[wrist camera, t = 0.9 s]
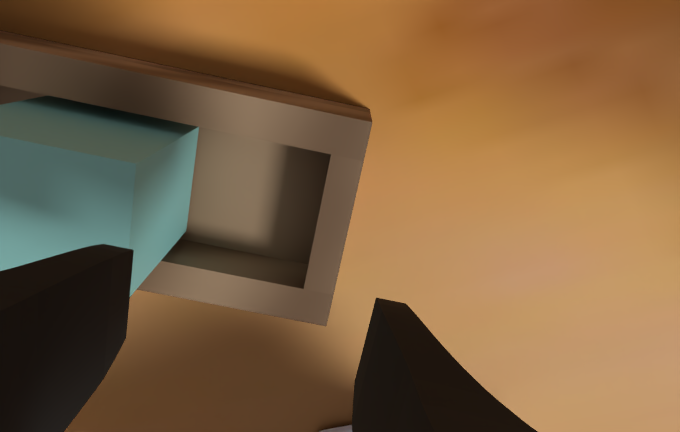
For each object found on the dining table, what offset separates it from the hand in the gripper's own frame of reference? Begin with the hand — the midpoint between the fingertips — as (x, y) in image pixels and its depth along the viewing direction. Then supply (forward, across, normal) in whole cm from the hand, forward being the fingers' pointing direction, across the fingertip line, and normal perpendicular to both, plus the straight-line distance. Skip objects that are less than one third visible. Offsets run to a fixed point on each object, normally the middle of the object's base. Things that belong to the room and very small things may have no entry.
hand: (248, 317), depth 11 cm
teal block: (+8, +6, 0) cm, 10 cm away
